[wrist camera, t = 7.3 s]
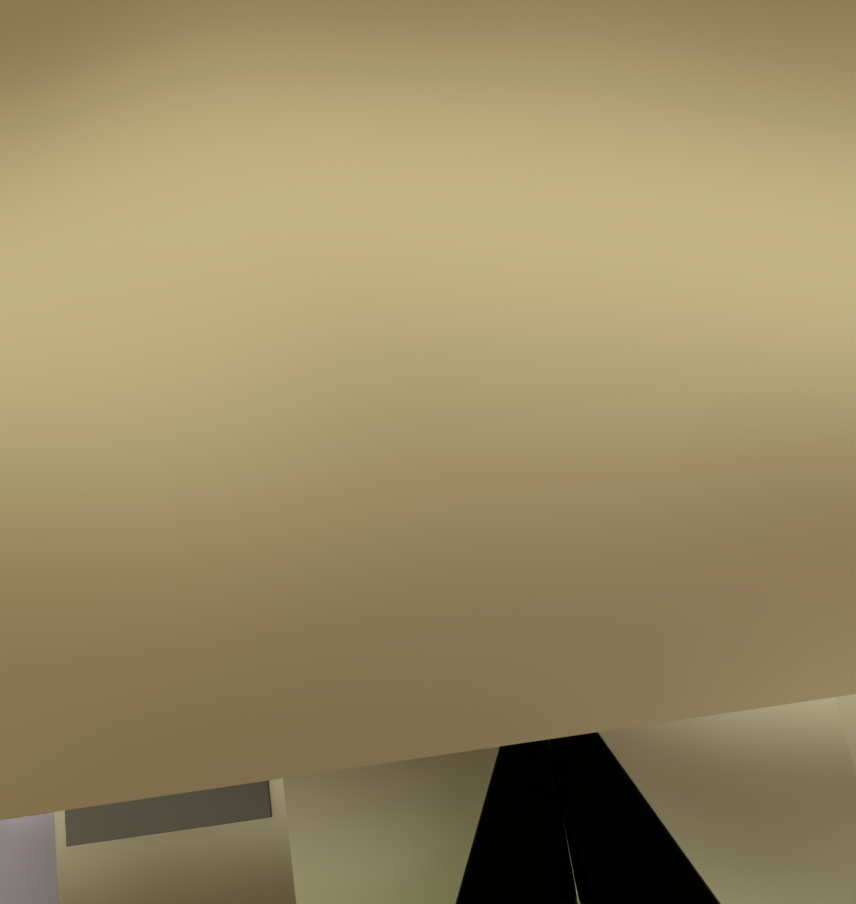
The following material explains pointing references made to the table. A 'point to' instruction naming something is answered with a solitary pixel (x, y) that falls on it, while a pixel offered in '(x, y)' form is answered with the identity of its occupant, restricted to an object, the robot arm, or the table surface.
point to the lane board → (457, 814)
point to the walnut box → (416, 379)
